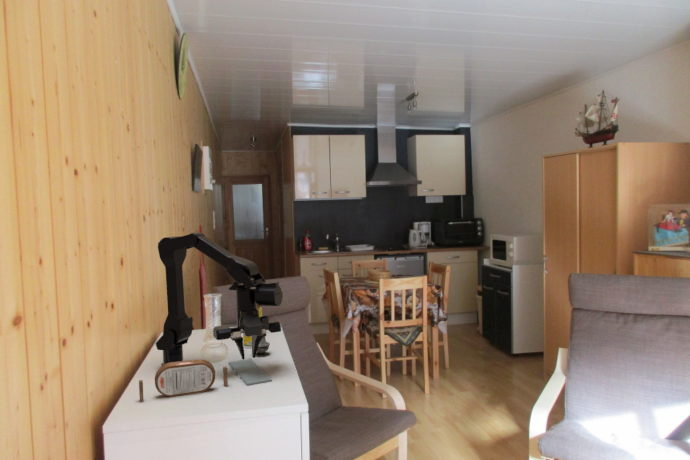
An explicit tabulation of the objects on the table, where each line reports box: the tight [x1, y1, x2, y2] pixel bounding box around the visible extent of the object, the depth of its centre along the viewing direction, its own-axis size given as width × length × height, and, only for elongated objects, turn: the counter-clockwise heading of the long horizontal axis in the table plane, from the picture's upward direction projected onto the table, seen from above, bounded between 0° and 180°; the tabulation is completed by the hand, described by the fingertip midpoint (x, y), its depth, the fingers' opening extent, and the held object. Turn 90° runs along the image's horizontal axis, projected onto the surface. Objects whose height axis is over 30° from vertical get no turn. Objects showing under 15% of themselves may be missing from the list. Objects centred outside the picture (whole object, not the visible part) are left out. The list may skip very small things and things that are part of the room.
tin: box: [154, 358, 216, 397], centre depth 127 cm, size 15×3×8 cm, turn 109°
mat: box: [228, 358, 273, 387], centre depth 143 cm, size 22×7×1 cm, turn 26°
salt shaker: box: [255, 331, 271, 358], centre depth 160 cm, size 6×6×12 cm
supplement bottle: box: [242, 333, 252, 349], centre depth 171 cm, size 5×5×10 cm
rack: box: [138, 366, 229, 403], centre depth 127 cm, size 2×22×5 cm, turn 116°
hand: (248, 358), depth 143 cm, fingers open, 3 cm apart
